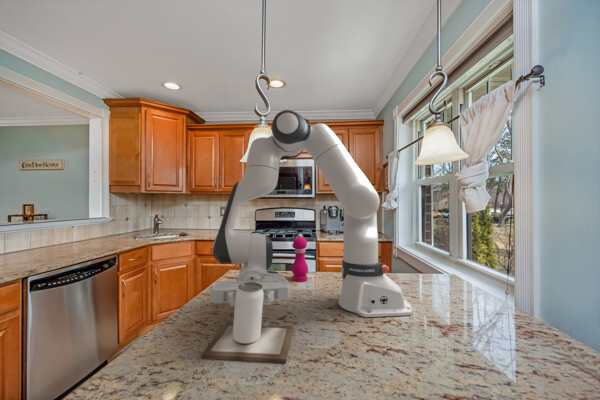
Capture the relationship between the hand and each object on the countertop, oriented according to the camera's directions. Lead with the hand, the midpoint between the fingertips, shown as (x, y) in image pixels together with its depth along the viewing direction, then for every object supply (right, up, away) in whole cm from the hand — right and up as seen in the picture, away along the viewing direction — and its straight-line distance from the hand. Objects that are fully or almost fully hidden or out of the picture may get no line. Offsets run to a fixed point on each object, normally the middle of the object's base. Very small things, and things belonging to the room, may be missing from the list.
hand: (250, 302), depth 58 cm
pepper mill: (+11, -11, +50) cm, 52 cm away
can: (-1, -9, +1) cm, 9 cm away
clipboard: (0, -10, +1) cm, 10 cm away
